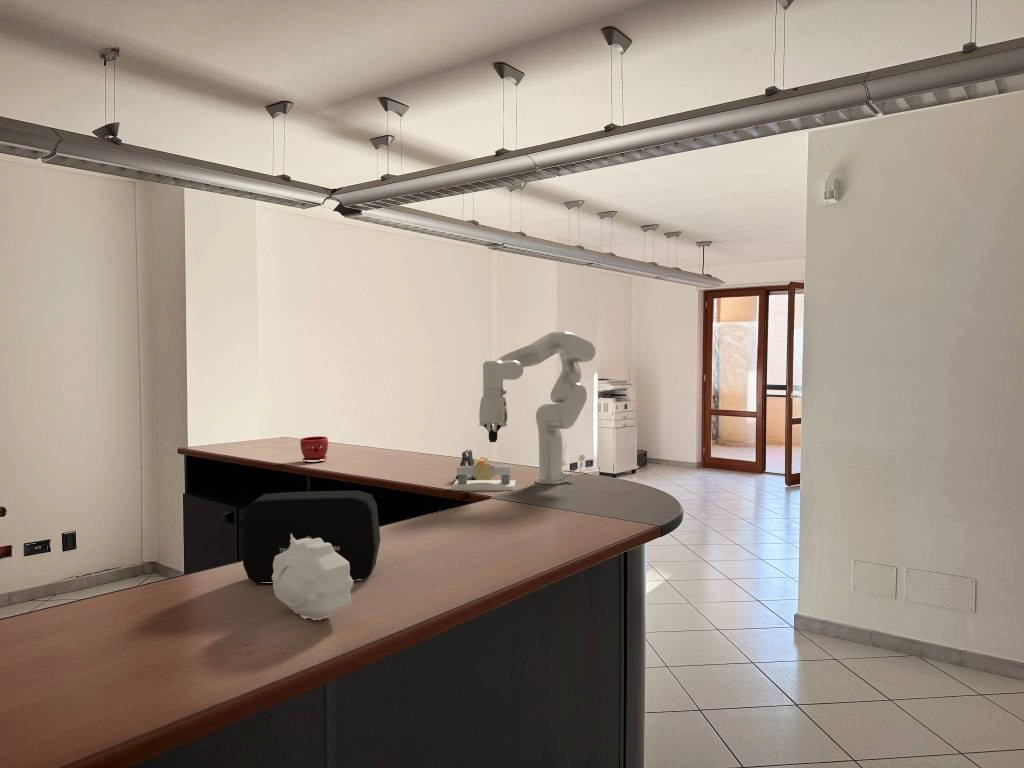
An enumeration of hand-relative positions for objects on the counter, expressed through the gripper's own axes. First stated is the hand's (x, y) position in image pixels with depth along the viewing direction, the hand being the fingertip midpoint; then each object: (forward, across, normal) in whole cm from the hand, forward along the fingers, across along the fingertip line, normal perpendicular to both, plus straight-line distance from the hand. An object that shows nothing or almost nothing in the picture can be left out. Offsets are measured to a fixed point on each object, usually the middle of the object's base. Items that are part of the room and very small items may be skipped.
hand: (493, 441), depth 268 cm
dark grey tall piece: (+19, +20, -23) cm, 36 cm away
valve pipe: (+15, +7, -8) cm, 19 cm away
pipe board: (+19, +7, -8) cm, 22 cm away
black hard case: (+21, +5, +107) cm, 109 cm away
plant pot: (+20, +113, -49) cm, 125 cm away
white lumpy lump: (+21, -10, +130) cm, 132 cm away
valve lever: (+9, +6, -3) cm, 11 cm away
